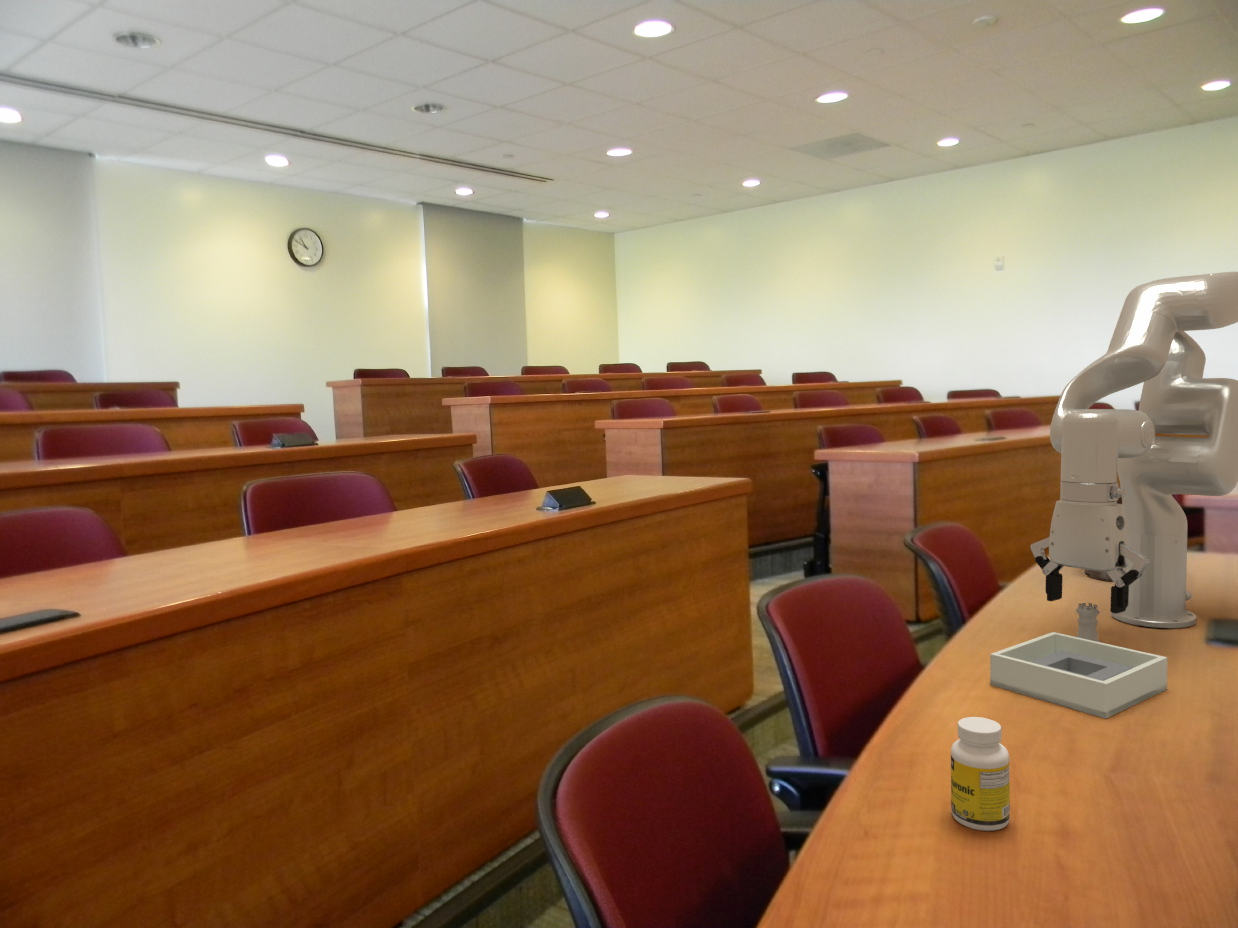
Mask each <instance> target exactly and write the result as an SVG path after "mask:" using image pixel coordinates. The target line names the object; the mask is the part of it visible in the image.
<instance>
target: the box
mask: <svg viewBox="0 0 1238 928" xmlns="http://www.w3.org/2000/svg"><path fill="white" fill-rule="evenodd" d="M989 657H990V662H989V666H990V668H989V673H990V675H989V676H990V678H989V679H990V683H989V684H990V686H992V687H996V688H998V689H999V688H1000V689H1002V690H1006V691H1010V692H1013V693H1016V694H1019V695H1023V696H1027V697H1030V698H1033V699H1037V700H1040V701H1043V702H1047V703H1050V704H1053V705H1056V706H1057V705H1058V706H1061V707H1064V708H1067V709H1072V710H1075V711H1078V712H1082V713H1084V714H1088V715H1092V716H1094V717H1095V716H1096V717H1098V718H1102V719H1108V718H1110V717H1112V716H1114V715H1116V714H1119V713H1122V712H1123V711H1126V710H1127V709H1129V708H1132V707H1133V706H1135V705H1139V703H1142V702H1144V701H1146V700H1148V699H1150V698H1152V697H1154V696H1156V695H1158V694H1161V693H1162V692H1164V691H1167V690H1168V657H1167V656H1162V655H1159V654H1154V653H1150V652H1144V651H1141V650H1140V651H1139V650H1136V649H1132V648H1128V647H1127V648H1126V647H1122V646H1117V645H1114V644H1108V643H1105V642H1101V641H1100V642H1096V641H1092V640H1087V639H1083V638H1078V637H1077V636H1073V635H1068V634H1063V633H1059V632H1055V631H1053V632H1049V633H1046V634H1044V635H1040V636H1037V637H1035V638H1032V639H1029V640H1027V641H1024V642H1020V643H1018V644H1014V645H1013V646H1009V647H1006V648H1003V649H1001V650H1000V649H999V650H998V651H995V652H992V653H990V655H989Z"/></svg>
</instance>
